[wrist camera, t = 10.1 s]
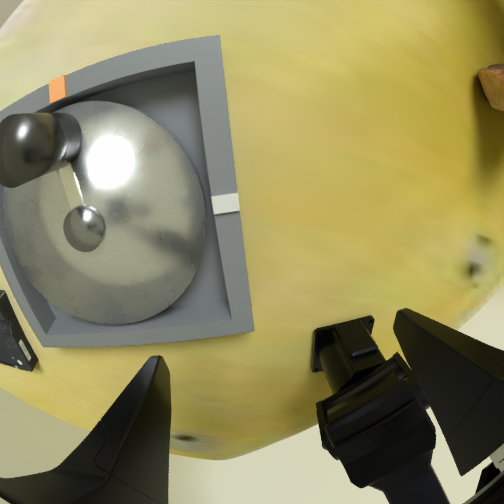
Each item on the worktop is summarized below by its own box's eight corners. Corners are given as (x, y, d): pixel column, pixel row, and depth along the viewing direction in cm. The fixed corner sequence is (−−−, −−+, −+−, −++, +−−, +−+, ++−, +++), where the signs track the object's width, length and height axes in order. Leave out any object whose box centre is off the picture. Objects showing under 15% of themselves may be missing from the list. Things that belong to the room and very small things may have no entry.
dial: (230, 286, 21) (239, 353, 15) (66, 321, 20) (38, 375, 14) (175, 69, 14) (153, 36, 7) (-3, 157, 13) (-61, 178, 7)
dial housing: (249, 307, 23) (254, 333, 20) (54, 327, 21) (42, 348, 18) (218, 48, 14) (219, 33, 11) (-10, 130, 12) (-34, 135, 9)
